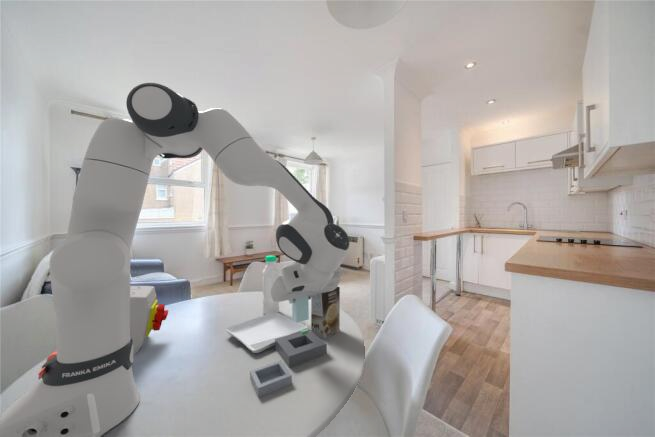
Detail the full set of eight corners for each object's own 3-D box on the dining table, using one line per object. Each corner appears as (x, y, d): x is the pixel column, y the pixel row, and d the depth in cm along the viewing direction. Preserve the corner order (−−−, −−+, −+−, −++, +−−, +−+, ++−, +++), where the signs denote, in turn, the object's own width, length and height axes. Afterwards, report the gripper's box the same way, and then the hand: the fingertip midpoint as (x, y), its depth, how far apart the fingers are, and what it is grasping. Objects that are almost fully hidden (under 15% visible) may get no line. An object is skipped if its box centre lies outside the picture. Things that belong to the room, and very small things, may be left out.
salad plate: (224, 337, 83) (224, 327, 83) (275, 318, 99) (275, 310, 99) (253, 362, 69) (253, 350, 69) (309, 336, 84) (309, 326, 84)
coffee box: (324, 339, 80) (324, 292, 80) (310, 334, 84) (310, 289, 84) (340, 330, 88) (340, 286, 88) (326, 325, 92) (326, 283, 92)
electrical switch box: (157, 357, 74) (168, 293, 76) (94, 364, 67) (107, 293, 69) (164, 337, 87) (173, 282, 89) (112, 340, 80) (123, 281, 82)
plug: (296, 322, 69) (296, 286, 69) (292, 319, 72) (292, 283, 72) (308, 319, 72) (308, 283, 72) (304, 316, 74) (303, 281, 74)
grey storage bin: (258, 401, 53) (258, 388, 53) (250, 382, 59) (249, 370, 59) (291, 387, 58) (291, 375, 58) (280, 371, 64) (280, 360, 64)
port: (289, 371, 64) (289, 354, 64) (275, 351, 73) (275, 337, 73) (326, 357, 70) (326, 341, 70) (309, 341, 80) (309, 327, 80)
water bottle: (261, 311, 106) (261, 255, 106) (277, 308, 109) (276, 254, 109) (264, 317, 99) (264, 257, 99) (280, 314, 102) (280, 256, 102)
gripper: (341, 260, 72) (324, 285, 80) (276, 268, 61) (264, 296, 69) (350, 278, 68) (331, 302, 76) (282, 290, 57) (269, 316, 65)
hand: (299, 299), depth 72 cm, fingers closed on plug, 4 cm apart
